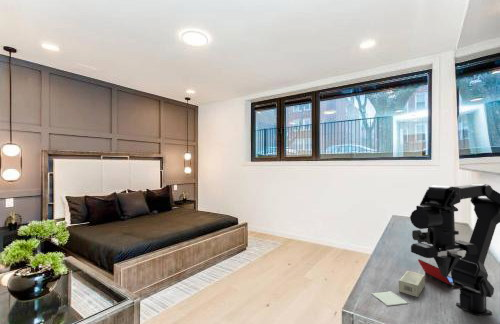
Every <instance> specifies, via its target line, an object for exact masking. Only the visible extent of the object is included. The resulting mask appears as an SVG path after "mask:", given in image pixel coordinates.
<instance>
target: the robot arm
mask: <svg viewBox="0 0 500 324" xmlns="http://www.w3.org/2000/svg"><path fill="white" fill-rule="evenodd" d="M466 199H470V203H471V204H472V205H473V211H474V213H475V215H476V222H475V224H474V228H473V231H472V232H471V235H470V236H471V237H470V240H469V241H468V242H467V241H464V240H459V239H458V240H456V236H457V235H458V236H459V234H460V233H459V230H456V229H455V228H456V227H455V226H456V225H455V222H456V220H455V212H458V211H459V209H458V208H457V206H455V205H457V204H460V203H461V200H466ZM409 219H410V221H411V224H412V225H413V226H414V227H415V228H417V229H414V230H412V233H411V236H412V237H411V238H412V239H413V240H414V241H417V243H412V244H411V245H410V252H411V253H413V254H415V255H417V256H420V257H423V258H425V259H433V260H434V261H435V263H436V265H437V266H436V267H437V268H439V270H440V272H441V275H442V276H443V277H447V276H449V275H450V277H452V280H453V283H454V286H458V287H460V288H459V302H456V303H455V305H456V306H458V307H459V308H461V309H462V310H465V311H466V312H468V313H470V314H472V315H474V316H483V315H484V314H485V315H490V313H492V314H493V312H492V311H491V310H489V309H488V308H487V298H492V297H493V295H494V293H495V292H494V291H495V288H494V286H493V285H492V284H491V282H490V281H489V280H488V277H489V273H488V272H487V268H486V267H485V262H486V258H487V255H488V252H489V250H490V246H491V243H492V240H493V237H494V234H495V230H496V228H497V225H498V224H500V192H499V191H497V190H495V189H493V188H492V186H491V185H490V184H487V183H472V184H471V183H470V184H466V185H464V184H463V185H458V186H447V185H430V186H428V189H426V191H425V193H424V195H423V197H422V200H421V201H420V203H419V205H416V208H415V209H414V210H413V211H412V212H411V214H410V216H409ZM424 229H427V231H425V232H424V231H423V232H422V231H421V230H424ZM457 251H458V252H459V251H465V254H464V256H462V255H461V254H458V252H457Z"/></svg>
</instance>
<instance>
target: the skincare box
mask: <svg viewBox="0 0 500 324" xmlns="http://www.w3.org/2000/svg"><path fill="white" fill-rule="evenodd" d="M425 277H426V275H425V274H422V273H419V272H415V271H411V270H406V271H405V272H404V274H403V275H402V277H401V278H399V280H398V290H399V291H398V292H400V293H403V294H407V295H410V296H413V297H417V298H418V297H419V296H420V295H421V293H422V292H423V289H424V287H425V285H426V284H425V281H426V280H425V279H426V278H425Z"/></svg>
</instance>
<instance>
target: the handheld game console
mask: <svg viewBox="0 0 500 324" xmlns="http://www.w3.org/2000/svg"><path fill="white" fill-rule="evenodd" d="M417 261H418V263H419V265H420V267H421V268H422V269H423V271H424V276H425V277H426V276H427V277H428V278H430V279H432V280H434V281H435V282H438V283H440V284H441V285H443V286H445V287H447V288H449V289H460V287H458V286H454V283H453V280H452V277H451V275H450V276H449V275H448V276H447V277H443V276H442V275H441V272H440V270H439V268H438V266H436V265H433V264H431V263H428V262H426V261H424V260H421V259H417Z"/></svg>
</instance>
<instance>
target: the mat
mask: <svg viewBox="0 0 500 324" xmlns="http://www.w3.org/2000/svg"><path fill="white" fill-rule="evenodd" d="M371 295H372V296H373V297H375V298H376V299H377V300H379V301H380V302H381V303H383V304H384V305H385V306H387V307H391V306H399V305H407V304H409V302H408V301H406V300H404V299H403V298H402V297H400V296H399V295H397V294H396V293H394V292H393V291H391V290H390V291H389V290H388V291H383V292H373V293H371Z"/></svg>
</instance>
